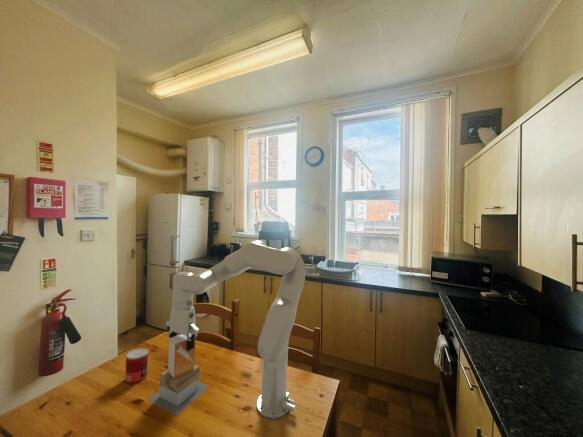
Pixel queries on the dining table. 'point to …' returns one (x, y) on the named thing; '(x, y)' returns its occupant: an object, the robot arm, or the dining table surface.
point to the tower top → (179, 380)
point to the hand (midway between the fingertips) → (181, 346)
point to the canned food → (136, 365)
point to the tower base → (180, 397)
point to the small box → (180, 356)
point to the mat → (179, 408)
